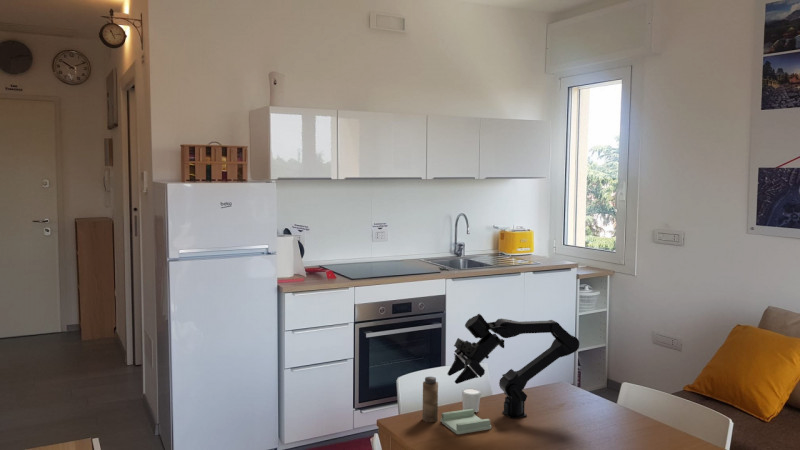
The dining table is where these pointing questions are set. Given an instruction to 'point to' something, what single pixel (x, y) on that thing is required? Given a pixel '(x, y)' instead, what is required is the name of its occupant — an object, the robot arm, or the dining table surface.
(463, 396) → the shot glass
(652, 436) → the dining table surface
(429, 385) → the pepper mill
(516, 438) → the dining table surface
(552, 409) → the dining table surface
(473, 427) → the tray
